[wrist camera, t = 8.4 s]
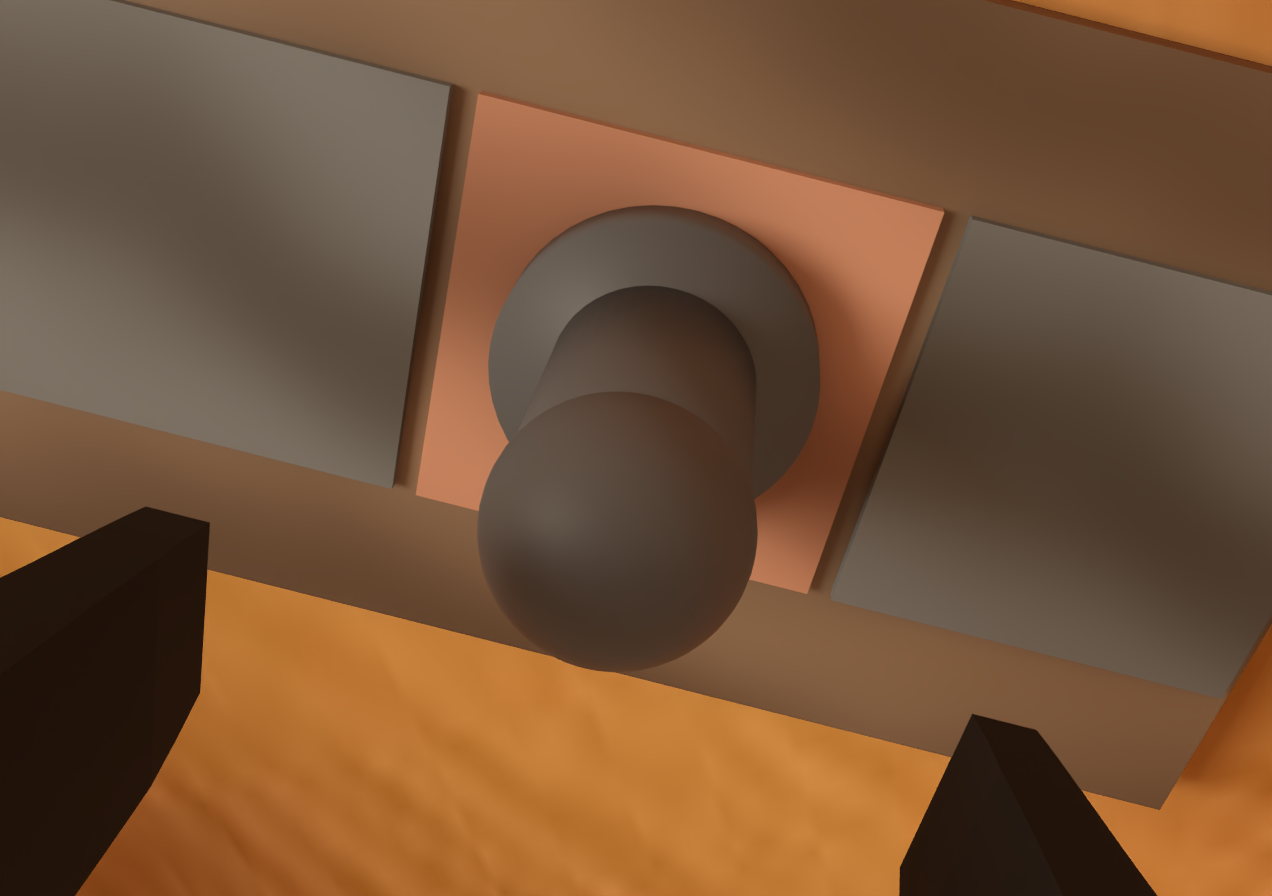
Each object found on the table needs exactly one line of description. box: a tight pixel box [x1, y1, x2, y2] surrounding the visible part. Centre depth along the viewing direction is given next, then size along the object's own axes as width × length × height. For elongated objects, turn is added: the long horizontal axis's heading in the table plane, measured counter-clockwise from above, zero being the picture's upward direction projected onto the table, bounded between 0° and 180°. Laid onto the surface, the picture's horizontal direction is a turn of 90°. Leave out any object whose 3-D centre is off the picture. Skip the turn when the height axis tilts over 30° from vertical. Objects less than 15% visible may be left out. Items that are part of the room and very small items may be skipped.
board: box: [0, 0, 1272, 810], centre depth 18 cm, size 12×28×1 cm, turn 77°
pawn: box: [477, 205, 820, 672], centre depth 15 cm, size 5×5×6 cm
